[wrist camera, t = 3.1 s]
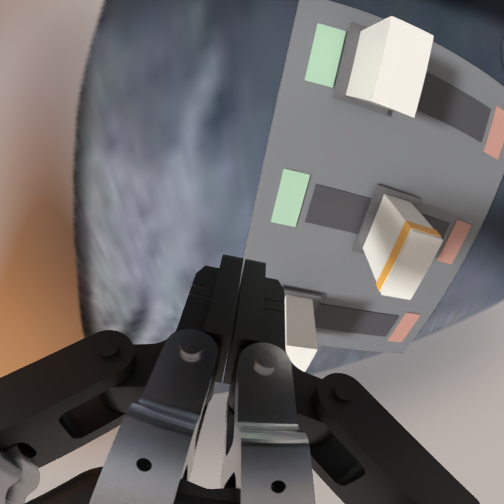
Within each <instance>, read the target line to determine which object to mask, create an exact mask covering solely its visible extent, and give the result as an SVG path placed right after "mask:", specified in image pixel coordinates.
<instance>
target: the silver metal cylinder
mask: <svg viewBox="0 0 504 504" xmlns="http://www.w3.org/2000/svg"><path fill="white" fill-rule="evenodd" d="M501 55H502V62H503V66H504V38H503V41H502V46H501Z"/></svg>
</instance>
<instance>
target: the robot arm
mask: <svg viewBox="0 0 504 504" xmlns="http://www.w3.org/2000/svg"><path fill="white" fill-rule="evenodd" d="M243 260H244V258H239V257H234V256H229V255H224V254H223V257H222V261H221V264H220V268H215V267H210V266H204V267H203V268H202V269H201V270H200V271H199V272H197V273H196V276H195V278H194V281H193V284H192V287H191V290H190V292H189V295H188V298H187V301H186V304H185V307H184V310H183V313H182V316H181V319H180V322H179V325H178V327H177V330H176V331H175V333H173V334H172V335H170V336H169V337H168V339H167V340H165V341H163V342H160V343H156V344H139V345H133V344H132V342H131V340H130V339H129V338H128V337H127V336H126V335H124V334H123V333H121V332H118V331H113V330H104V331H100V332H97V333H95V334H93V335H91V336H89V337H86V338H84V339H82V340H80V341H78V342H76V343H74V344H72V345H70V346H67V347H65V348H63V349H61V350H59V351H57V352H55V353H53V354H50V355H49V356H46V357H44V358H42V359H40V360H38V361H36V362H33V363H31V364H29V365H27V366H25V367H23V368H21V369H18V370H16V371H14V372H12V373H10V374H8V375H6V376H4V377H1V378H0V504H24V502H25V499H26V497H27V496H28V495H29V494H30V493H31V492H33V491H34V490H35V489H36V488H37V486H38V484H39V480H40V472H39V468H40V467H42V466H44V465H46V464H48V463H50V462H52V461H54V460H56V459H58V458H60V457H62V456H64V455H66V454H68V453H70V452H72V451H74V450H76V449H77V448H79V447H81V446H83V445H85V444H87V443H88V442H91V441H92V440H94V439H96V438H97V437H99V436H101V435H103V434H105V433H107V432H108V431H110V430H112V429H113V428H115V427H117V426H119V425H120V428H119V430H118V432H117V435H116V437H115V439H114V442H113V444H112V447H111V449H110V452H109V454H108V456H107V459H106V461H105V464H104V466H103V467H98V468H94V469H90V470H88V471H85V472H83V473H81V474H79V475H78V476H76V477H74V478H72V479H70V480H69V481H67V482H65V483H63V484H61V485H60V486H58V487H56V488H54V489H52V490H50V491H49V492H47V493H45V494H43V495H41V496H39V497H37V498H35V499H33V500H31V501H29V502H27V503H25V504H315V494H314V484H313V474H312V469H313V470H314V471H315V472H316V473H317V474H318V475H319V476H320V478H322V480H323V481H324V482H325V483H326V484H327V485H328V486H329V487H330V488H331V490H332V491H333V492H334V493H335V494H336V495H337V496H338V497H339V498H340V499H341V500H342V501H343V502H344V503H345V504H480V503H479V501H478V500H477V499H476V498H475V497H474V496H473V495H472V494H471V493H470V492H469V491H468V490H467V489H465V487H463V485H461V484H460V483H459V482H458V481H457V480H456V479H455V478H454V477H453V476H452V475H451V474H450V473H449V472H448V471H447V470H446V469H445V468H444V467H443V466H442V465H441V464H440V463H439V462H438V461H437V460H436V459H435V458H434V457H433V456H432V455H431V454H430V453H429V452H428V451H427V450H426V449H425V448H424V447H423V446H422V445H421V444H420V443H419V442H418V441H417V440H416V439H415V438H414V437H413V436H412V435H411V434H410V433H409V432H408V431H406V430H405V428H403V426H402V425H401V424H400V423H399V422H397V420H396V419H394V417H393V416H392V415H391V414H390V413H389V412H388V411H387V410H386V409H385V408H384V407H383V406H382V405H380V403H379V402H378V401H377V400H376V399H375V398H374V397H373V396H372V395H371V394H370V393H369V392H368V391H367V390H366V389H365V388H364V387H363V386H362V385H361V384H360V383H359V382H358V381H357V380H356V379H354V378H353V377H351V376H349V375H346V374H342V373H334V374H330V375H328V376H326V377H325V378H323V379H320V378H318V377H315V376H313V375H310V374H308V373H306V372H303V371H301V370H300V369H298V368H297V367H296V366H295V365H294V364H293V363H292V362H291V361H290V359H289V357H288V355H287V353H286V348H285V304H284V302H285V296H284V289H283V287H282V285H281V284H280V282H279V280H277V279H272V278H266V277H265V276H266V263H265V262H260V261H255V260H250V259H245V263H244V267H243V272H242V266H243ZM241 272H242V276H241ZM240 279H241V281H240ZM239 285H240V286H239ZM227 354H228V356H227ZM226 358H227V362H226ZM225 363H226V368H225V375H224V381H223V383H227V384H230V389H229V396H228V400H227V404H226V416H225V438H224V458H223V465H222V474H221V489H206V488H203V487H200V486H198V485H196V484H193V483H191V482H189V477H190V473H191V470H192V465H193V461H194V457H195V453H196V449H197V445H198V441H199V438H200V434H201V431H202V427H203V423H204V419H205V415H206V412H207V409H208V405H209V402H210V400H211V399H212V396H213V391H214V386H215V382H220V383H221V381H222V376H223V372H224V367H225Z"/></svg>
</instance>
